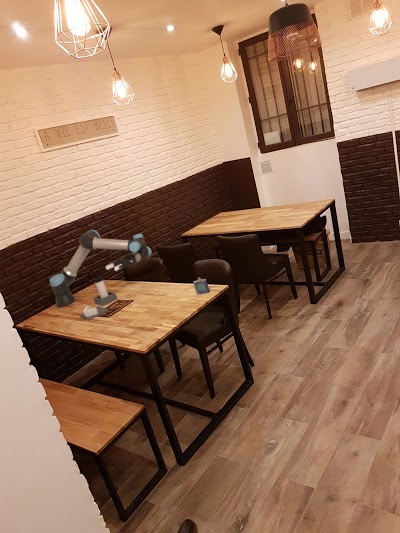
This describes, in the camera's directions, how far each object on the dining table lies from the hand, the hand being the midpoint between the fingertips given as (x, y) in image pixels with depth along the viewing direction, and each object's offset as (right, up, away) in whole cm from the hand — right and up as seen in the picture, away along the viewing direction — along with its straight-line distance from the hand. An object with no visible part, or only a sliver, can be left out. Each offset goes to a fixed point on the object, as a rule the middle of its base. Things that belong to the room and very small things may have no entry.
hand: (110, 268), depth 303 cm
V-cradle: (-7, -31, -19) cm, 37 cm away
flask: (+69, -16, -38) cm, 80 cm away
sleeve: (-3, -25, 0) cm, 25 cm away
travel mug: (-3, -25, 0) cm, 25 cm away
